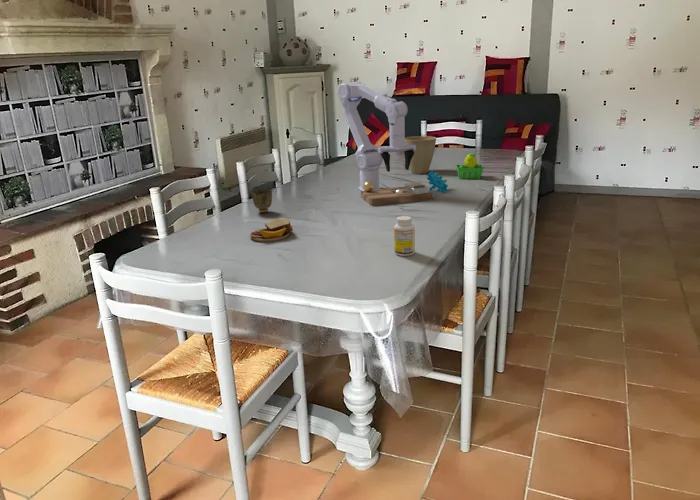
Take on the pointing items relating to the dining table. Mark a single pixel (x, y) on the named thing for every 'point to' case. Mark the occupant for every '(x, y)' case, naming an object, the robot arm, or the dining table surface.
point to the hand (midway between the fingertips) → (397, 170)
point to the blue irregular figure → (437, 182)
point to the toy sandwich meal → (273, 231)
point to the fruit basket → (470, 168)
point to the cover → (416, 188)
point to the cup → (262, 200)
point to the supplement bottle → (404, 236)
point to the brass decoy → (368, 186)
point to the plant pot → (421, 153)
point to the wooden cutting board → (393, 196)
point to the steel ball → (399, 191)
